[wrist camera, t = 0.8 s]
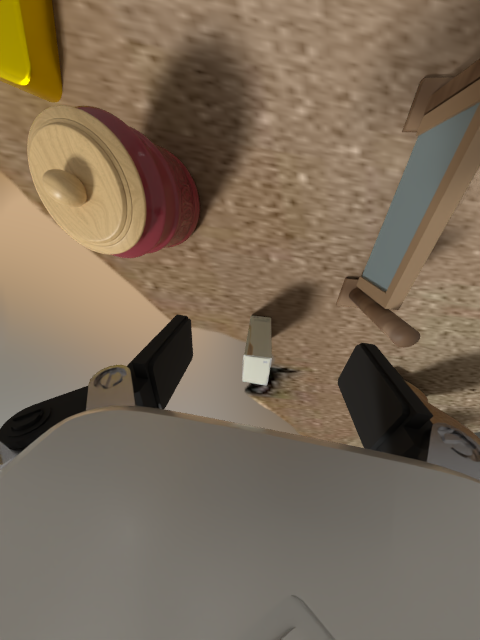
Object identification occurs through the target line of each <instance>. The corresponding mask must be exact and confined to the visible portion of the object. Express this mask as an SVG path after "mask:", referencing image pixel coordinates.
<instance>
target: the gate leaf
mask: <svg viewBox="0 0 480 640" xmlns="http://www.w3.org/2000/svg"><path fill="white" fill-rule="evenodd" d="M416 136H418V139H417V141H416V144H415V146H414V148H413V151H412V153H411V156H410V158H409V161H408V163H407V166H406V168H405V171H404V173H403V176H402V178H401V181H400V183H399V186H398V188H397V191H396V193H395V196H394V198H393V201H392V203H391V206H390V208H389V210H388V213H387V215H386V218H385V220H384V223H383V225H382V228H381V230H380V233H379V235H378V238H377V240H376V243H375V245H374V248H373V250H372V253H371V255H370V258H369V260H368V263H367V265H366V267H365V270H364V272H363V275H362V277H359V280H358V282H357V285H356V286H357V287H358V288H359V289H361V290H362V291H363V292H365V293H366V294H367V295H368V296H370V297H371V298H372V299H373V300H375V301H376V302H377V303H378V304H380V305H381V306H382V307H384V308H385V309H393V310H399V308H400V306H401V305H402V303H403V301H404V299H405V298H406V296H407V294H408V292H409V290H410V289H411V287H412V285H413V283H414V282H415V280H416V278H417V276H418V274H419V273H420V271H421V269H422V267H423V266H424V264H425V262H426V260H427V258H428V257H429V255H430V253H431V251H432V250H433V248H434V246H435V244H436V242H437V241H438V239H439V237H440V235H441V234H442V232H443V230H444V228H445V227H446V225H447V223H448V221H449V219H450V218H451V216H452V214H453V212H454V211H455V209H456V207H457V205H458V203H459V202H460V200H461V198H462V196H463V195H464V193H465V191H466V189H467V187H468V186H469V184H470V182H471V180H472V179H473V177H474V175H475V173H476V171H477V170H478V168H479V166H480V79H479V80H478V81H476V82H475V83H473V84H472V85H470V86H469V87H467V88H466V89H464V90H463V91H461V92H460V93H458V94H457V95H455V96H453V97H452V98H450V99H449V100H447V101H446V102H444V103H443V104H441V105H440V106H438V107H437V108H435V109H434V110H432V111H431V112H429V113H428V114H426V115H425V116H424V117H423V119H422V122H421V124H420V127H419V129H418V132H417V134H416Z"/></svg>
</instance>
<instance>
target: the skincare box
mask: <svg viewBox="0 0 480 640" xmlns="http://www.w3.org/2000/svg"><path fill="white" fill-rule="evenodd" d="M271 360H272V343H271V318H269V317H261V316H251V319H250V325H249V330H248V336H247V342H246V347H245V353H244V358H243V368H242V381H243V382H249V383H255V384H262V385H267V382H268V377H269V372H270V366H271Z"/></svg>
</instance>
